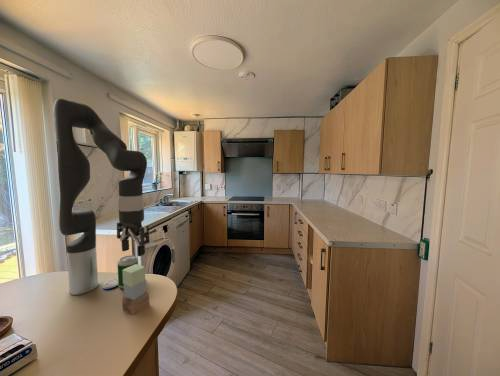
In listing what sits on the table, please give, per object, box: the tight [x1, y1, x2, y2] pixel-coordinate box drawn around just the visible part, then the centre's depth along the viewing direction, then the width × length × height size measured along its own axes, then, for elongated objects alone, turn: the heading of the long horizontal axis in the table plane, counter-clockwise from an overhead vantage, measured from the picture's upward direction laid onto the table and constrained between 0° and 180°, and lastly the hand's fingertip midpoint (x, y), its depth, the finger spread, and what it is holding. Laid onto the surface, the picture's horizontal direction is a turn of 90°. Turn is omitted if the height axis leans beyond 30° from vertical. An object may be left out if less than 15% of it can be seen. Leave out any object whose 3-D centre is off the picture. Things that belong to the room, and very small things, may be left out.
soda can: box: [117, 255, 139, 290], centre depth 85 cm, size 8×8×12 cm
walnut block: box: [121, 291, 150, 316], centre depth 71 cm, size 6×6×5 cm
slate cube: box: [123, 278, 148, 300], centre depth 71 cm, size 5×5×5 cm
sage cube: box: [122, 263, 146, 287], centre depth 70 cm, size 5×5×5 cm
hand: (133, 252), depth 70 cm, fingers open, 8 cm apart
